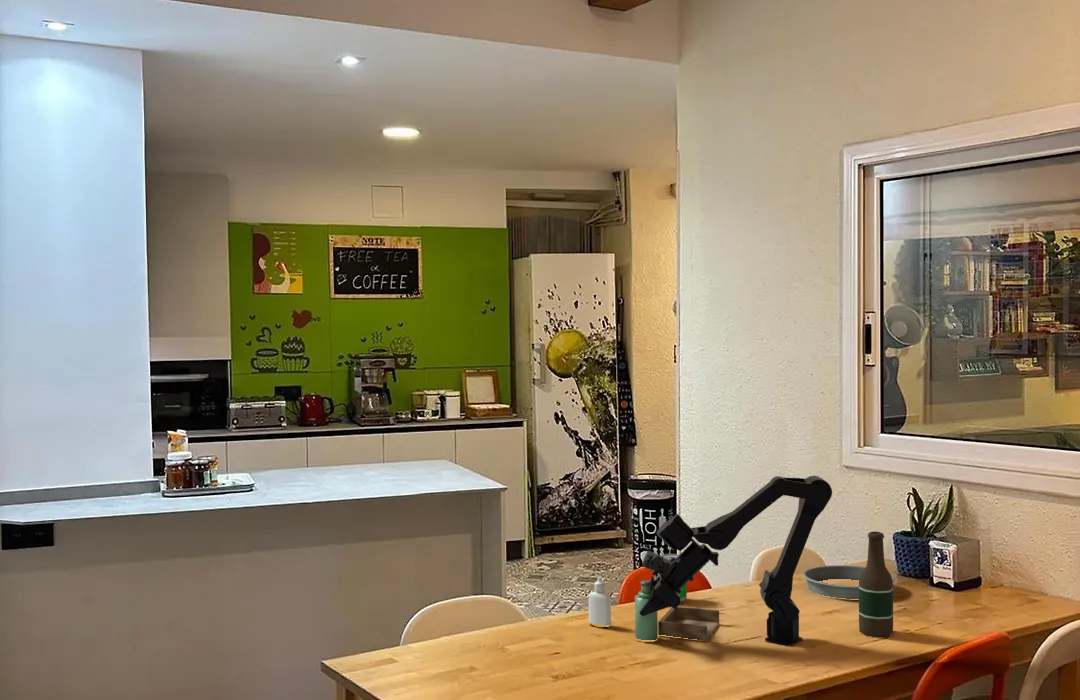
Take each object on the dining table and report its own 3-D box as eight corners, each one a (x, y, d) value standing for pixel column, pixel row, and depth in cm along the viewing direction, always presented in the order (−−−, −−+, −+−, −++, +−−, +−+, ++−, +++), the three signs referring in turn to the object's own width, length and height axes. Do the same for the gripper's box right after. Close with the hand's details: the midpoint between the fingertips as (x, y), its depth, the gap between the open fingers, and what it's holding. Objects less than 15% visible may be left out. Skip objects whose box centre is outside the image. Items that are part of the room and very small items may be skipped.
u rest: (719, 624, 250) (719, 610, 250) (706, 641, 236) (706, 626, 236) (673, 619, 254) (673, 605, 254) (658, 636, 240) (658, 621, 240)
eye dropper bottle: (603, 621, 253) (602, 573, 252) (612, 628, 247) (612, 578, 247) (587, 623, 251) (586, 575, 251) (596, 630, 246) (596, 580, 246)
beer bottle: (895, 639, 237) (895, 536, 236) (860, 637, 238) (860, 535, 238) (890, 629, 244) (890, 529, 244) (857, 627, 246) (857, 528, 245)
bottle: (662, 638, 238) (661, 581, 238) (649, 644, 234) (648, 586, 234) (643, 634, 242) (643, 578, 241) (630, 639, 238) (630, 582, 238)
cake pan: (836, 575, 298) (836, 560, 298) (913, 592, 279) (913, 575, 279) (784, 590, 282) (783, 574, 282) (862, 608, 263) (862, 591, 263)
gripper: (660, 532, 247) (615, 577, 248) (665, 548, 228) (616, 597, 229) (693, 564, 246) (647, 609, 247) (700, 584, 228) (651, 632, 229)
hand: (640, 611), depth 238 cm, fingers closed on bottle, 5 cm apart
